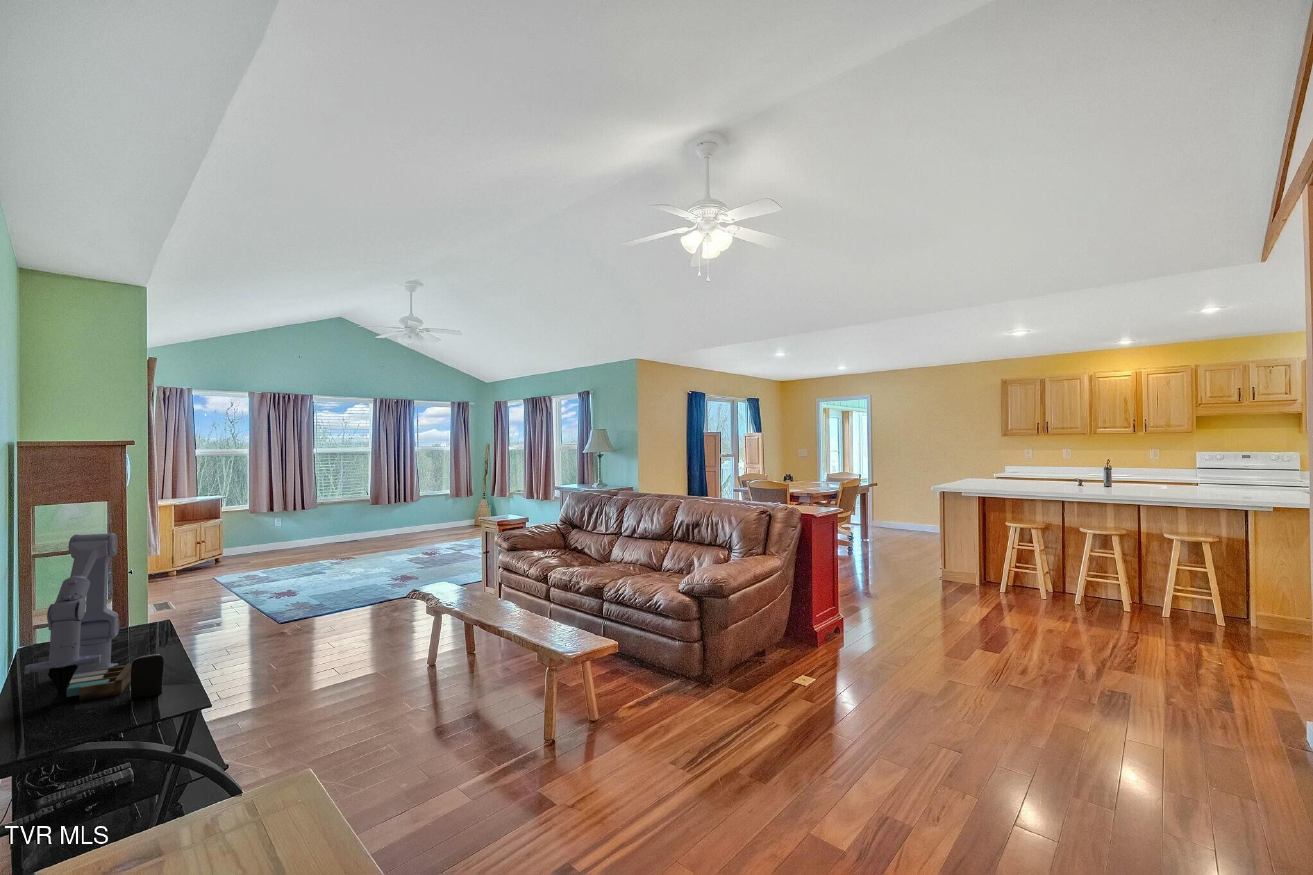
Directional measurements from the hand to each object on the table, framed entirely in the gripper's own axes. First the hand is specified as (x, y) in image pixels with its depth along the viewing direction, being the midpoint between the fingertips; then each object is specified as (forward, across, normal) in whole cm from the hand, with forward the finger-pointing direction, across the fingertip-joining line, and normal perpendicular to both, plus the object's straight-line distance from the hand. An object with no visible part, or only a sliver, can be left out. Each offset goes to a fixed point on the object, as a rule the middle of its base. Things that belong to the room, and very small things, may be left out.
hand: (62, 694), depth 154 cm
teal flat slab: (0, +5, 0) cm, 5 cm away
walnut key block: (+2, +8, +5) cm, 10 cm away
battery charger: (+2, +19, -9) cm, 21 cm away
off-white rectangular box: (0, +3, +5) cm, 6 cm away
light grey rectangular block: (0, +3, +10) cm, 10 cm away
